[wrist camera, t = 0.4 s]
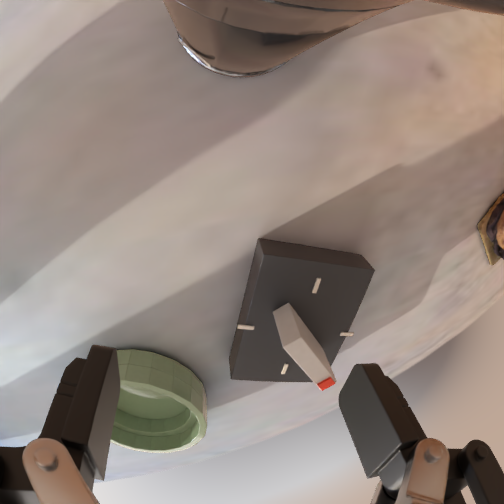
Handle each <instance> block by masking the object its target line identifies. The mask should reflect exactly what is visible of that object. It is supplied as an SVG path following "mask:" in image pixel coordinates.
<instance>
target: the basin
mask: <svg viewBox="0 0 504 504" xmlns="http://www.w3.org/2000/svg"><path fill="white" fill-rule="evenodd" d="M117 357H118V366H119V374H120V395H119V401H118V405H117V410H116V415H115V420H114V425H113V430H112V435H111V441H110V442H112V443H114V444H116V445H119V446H122V447H125V448H128V449H131V450H136V451H142V452H149V453H170V452H176V451H181V450H185V449H187V448H189V447H191V446H194V445H196V444H197V443H198V442H199V441H200V440H201V439H202V438H203V437H204V436H205V433H206V428H207V402H206V393H205V390H204V387H203V384H202V382H201V381H200V380H199V379H198V378H197V377H196V376H195V374H194V373H193V372H192V371H191V370H189V369H188V368H186V367H185V366H183V365H181V364H180V363H178V362H177V361H175V360H173V359H170V358H167V357H165V356H162V355H159V354H157V353H154V352H148V351H141V350H135V349H128V350H117Z"/></svg>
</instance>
